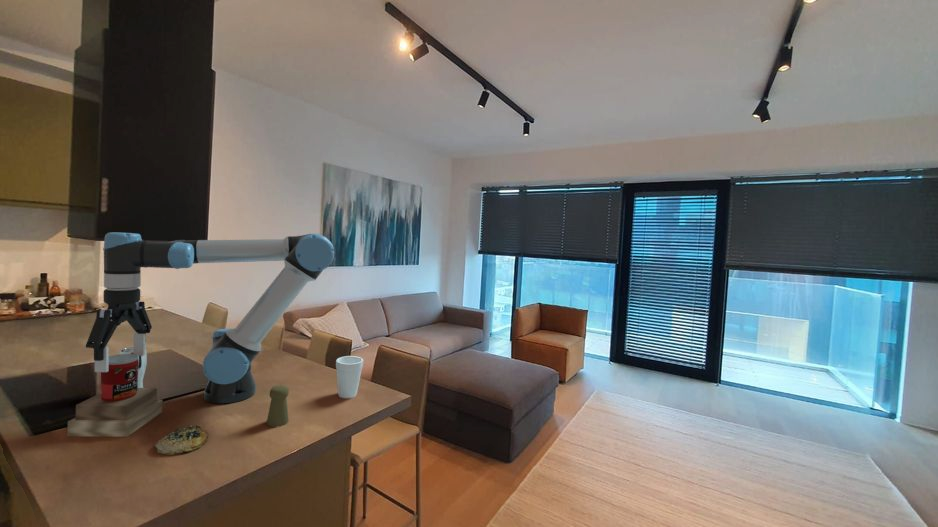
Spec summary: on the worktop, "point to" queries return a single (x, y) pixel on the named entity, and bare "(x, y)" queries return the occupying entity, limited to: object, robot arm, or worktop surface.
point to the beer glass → (141, 364)
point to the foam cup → (348, 375)
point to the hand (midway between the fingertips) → (121, 363)
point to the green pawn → (278, 406)
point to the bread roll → (182, 440)
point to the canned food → (120, 378)
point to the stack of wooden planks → (115, 415)
